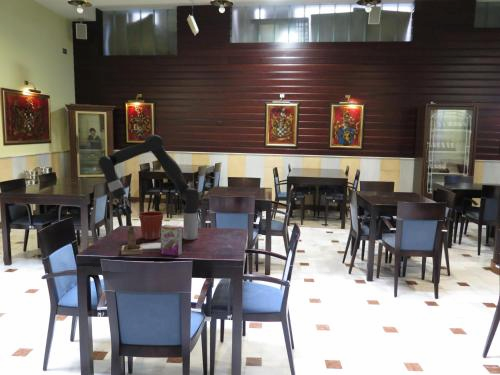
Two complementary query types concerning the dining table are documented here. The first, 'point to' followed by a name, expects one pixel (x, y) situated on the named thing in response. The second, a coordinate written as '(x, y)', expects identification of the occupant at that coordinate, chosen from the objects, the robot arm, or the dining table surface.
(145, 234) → the flower pot
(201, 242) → the dining table surface
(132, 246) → the pepper mill
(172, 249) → the candy bar box
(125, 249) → the collar
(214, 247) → the dining table surface
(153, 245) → the mat
